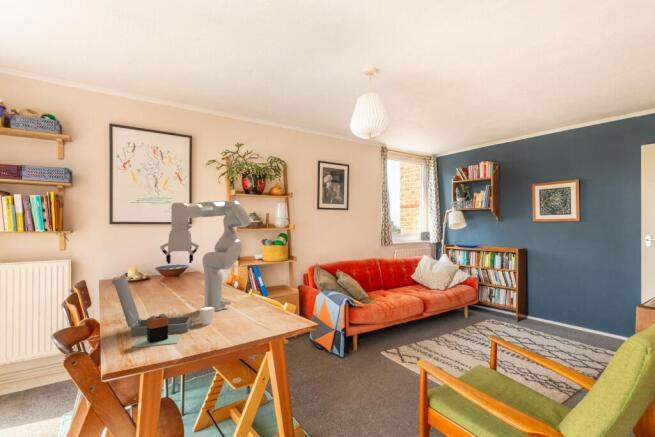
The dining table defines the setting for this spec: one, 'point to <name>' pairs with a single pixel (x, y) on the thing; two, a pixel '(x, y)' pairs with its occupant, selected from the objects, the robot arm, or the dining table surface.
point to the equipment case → (173, 325)
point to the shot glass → (206, 315)
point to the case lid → (126, 299)
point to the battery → (157, 328)
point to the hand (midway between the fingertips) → (179, 263)
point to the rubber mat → (144, 343)
